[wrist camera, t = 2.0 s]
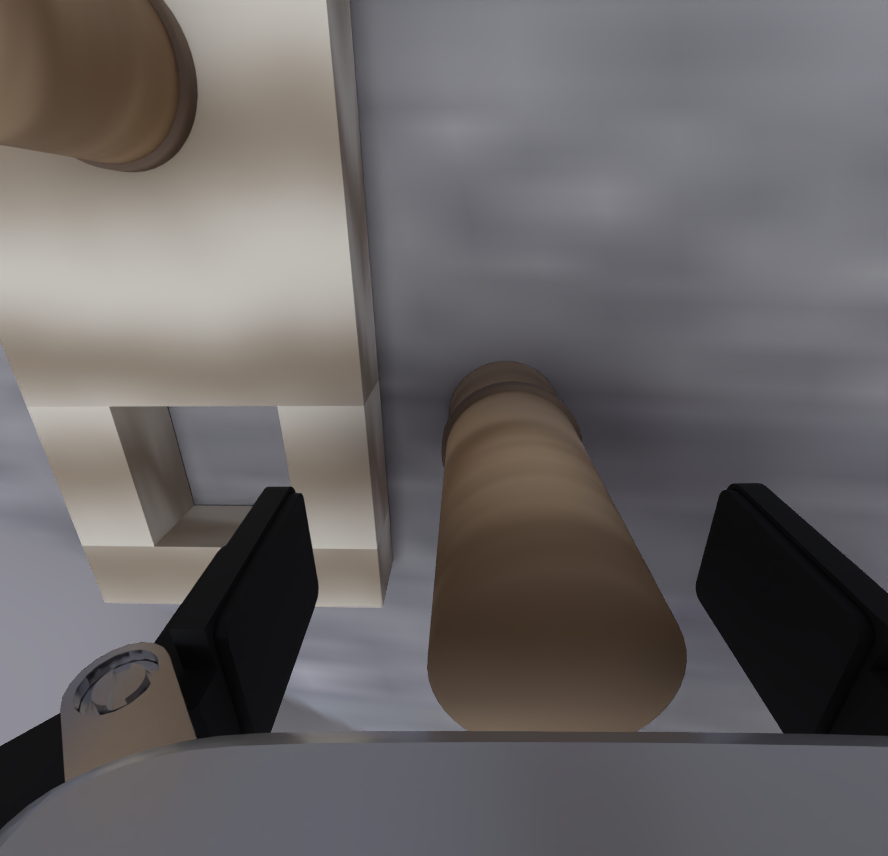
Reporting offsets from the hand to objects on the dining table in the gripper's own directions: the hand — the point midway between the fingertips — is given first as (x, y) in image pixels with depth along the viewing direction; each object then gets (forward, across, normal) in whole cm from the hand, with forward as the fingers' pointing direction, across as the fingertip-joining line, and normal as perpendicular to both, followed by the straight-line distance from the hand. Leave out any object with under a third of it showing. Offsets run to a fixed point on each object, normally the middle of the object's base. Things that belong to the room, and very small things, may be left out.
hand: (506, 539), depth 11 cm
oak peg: (+9, -1, +1) cm, 9 cm away
